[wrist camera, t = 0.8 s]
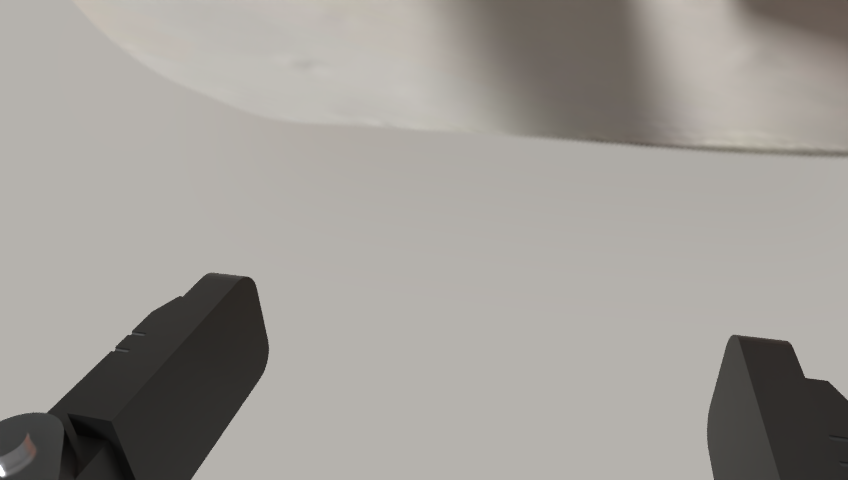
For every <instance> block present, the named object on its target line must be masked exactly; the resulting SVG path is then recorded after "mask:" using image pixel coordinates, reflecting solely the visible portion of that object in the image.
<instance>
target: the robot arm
mask: <svg viewBox="0 0 848 480" xmlns="http://www.w3.org/2000/svg"><path fill="white" fill-rule="evenodd" d="M268 354H269V345H268V339H267V334H266V329H265V325H264V320H263V315H262V311H261V306H260V301H259V297H258V292H257V288H256V285H255V282H254V281H253V280H252V279H251V278H249V277H245V276H236V275H228V274H219V273H208V274H206V275H205V276H204V277H203V278H201V279H200V280H199V281H198V282H197V283H196V284H195V285H194V286H193V287H192V288H191V290H189V291H188V292H187V293H186V294H185V295H184V296H183V297H181V296H179V297H177V298H175V299H174V300H172V301H170V302H169V303H167V304H165V305H163V306H161V307H160V308H158V309H156V310H154V311H153V312H151V313H150V314H149V315H148V316H147V317H146V318H145V319H144V320H143V321H142V322H141V323H140V324H139V325H138V326H137V327H136V328H135V329H134V330H133V331H132V335H127V336H126V337H125V338H124V340H122V341H121V342H120V343H119V344H118V345H117V346H116V349H115V351H114V352H113V351H111V352H110V353H109V354H108V355H107V356H106V357H105V358H104V359H102V360H101V361H100V362H99V363H98V364H97V365H96V366H95V367H94V368H93V369H92V370H91V371H90V372H89V373H88V374H87V375H86V376H85V377H84V378H83V379H82V380H81V381H80V382H79V383H78V384H76V386H75V387H73V388H72V389H71V390H70V391H69V392H68V393H67V394H66V395H65V396H64V397H63V398H62V399H61V400H60V401H59V402H58V403H57V404H56V405H55V406H54V407H53V408H52V409H50V410H49V411H48V412H47V413H26V414H21V415H16V416H13V417H10V418H7V419H5V420H2V421H0V480H191V479H192V477H193V476H194V474H195V473H196V471H197V470H198V468H199V467H200V466H201V464H202V463H203V461H204V460H205V458H206V457H207V455H208V454H209V452H210V451H211V450H212V448H213V447H214V445H215V444H216V442H217V441H218V439H219V438H220V436H221V435H222V433H223V432H224V430H225V429H226V428H227V426H228V425H229V423H230V422H231V420H232V419H233V417H234V416H235V414H236V413H237V411H238V410H239V409H240V407H241V406H242V404H243V403H244V401H245V400H246V398H247V397H248V395H249V394H250V393H251V391H252V390H253V388H254V387H255V385H256V384H257V382H258V381H259V379H260V378H261V376H262V374H263V372H264V370H265V367H266V364H267V360H268ZM707 425H708V426H707V440H708V449H709V455H710V460H711V465H712V471H713V476H714V480H848V400H847V399H846V398H845V397H844V396H843V395H842V394H841V393H840V392H838V391H837V390H836V388H834V387H833V386H832V385H831V384H830V383H829V382H828V381H824V380H816V379H808V378H805V376H804V374H803V371H802V369H801V366H800V364H799V361H798V359H797V356H796V354H795V352H794V349H793V347H792V345H791V344H790V343H789V342H788V341H782V340H774V339H765V338H757V337H748V336H740V335H732V336H731V337H730V339H729V341H728V343H727V346H726V350H725V353H724V357H723V361H722V364H721V368H720V371H719V375H718V379H717V382H716V386H715V390H714V394H713V397H712V401H711V405H710V409H709V414H708V424H707Z"/></svg>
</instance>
